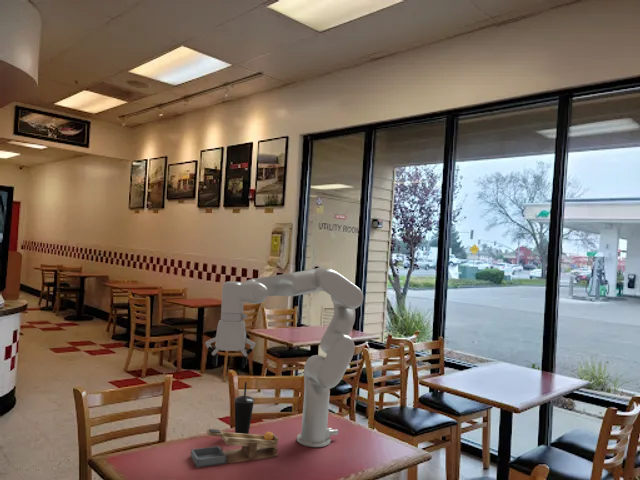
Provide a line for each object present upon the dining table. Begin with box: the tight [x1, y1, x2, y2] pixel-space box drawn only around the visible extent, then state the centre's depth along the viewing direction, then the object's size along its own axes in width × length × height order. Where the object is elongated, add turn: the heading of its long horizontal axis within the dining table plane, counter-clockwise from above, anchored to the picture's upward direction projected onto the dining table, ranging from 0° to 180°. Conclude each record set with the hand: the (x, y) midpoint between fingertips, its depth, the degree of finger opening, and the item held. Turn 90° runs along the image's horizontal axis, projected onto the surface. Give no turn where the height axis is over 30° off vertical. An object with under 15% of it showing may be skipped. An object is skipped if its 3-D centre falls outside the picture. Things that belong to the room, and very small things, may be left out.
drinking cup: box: [233, 381, 256, 434], centre depth 184 cm, size 8×8×20 cm
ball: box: [263, 431, 274, 440], centre depth 171 cm, size 3×3×3 cm
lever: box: [206, 428, 279, 449], centre depth 169 cm, size 22×10×3 cm, turn 117°
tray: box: [190, 445, 227, 469], centre depth 161 cm, size 9×8×2 cm
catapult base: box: [222, 442, 279, 464], centre depth 167 cm, size 18×8×6 cm, turn 117°
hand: (229, 366), depth 171 cm, fingers open, 9 cm apart
